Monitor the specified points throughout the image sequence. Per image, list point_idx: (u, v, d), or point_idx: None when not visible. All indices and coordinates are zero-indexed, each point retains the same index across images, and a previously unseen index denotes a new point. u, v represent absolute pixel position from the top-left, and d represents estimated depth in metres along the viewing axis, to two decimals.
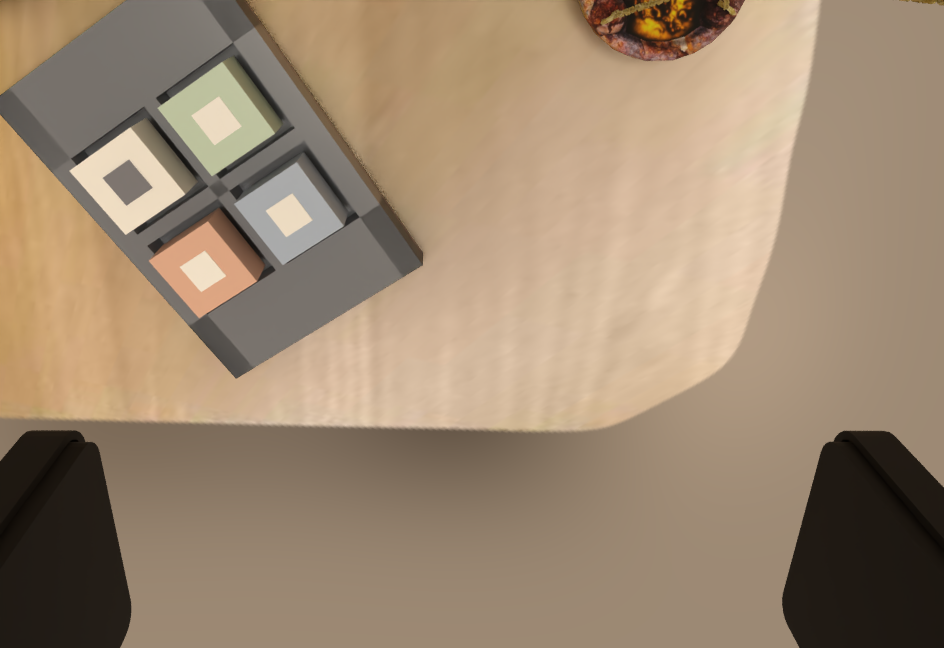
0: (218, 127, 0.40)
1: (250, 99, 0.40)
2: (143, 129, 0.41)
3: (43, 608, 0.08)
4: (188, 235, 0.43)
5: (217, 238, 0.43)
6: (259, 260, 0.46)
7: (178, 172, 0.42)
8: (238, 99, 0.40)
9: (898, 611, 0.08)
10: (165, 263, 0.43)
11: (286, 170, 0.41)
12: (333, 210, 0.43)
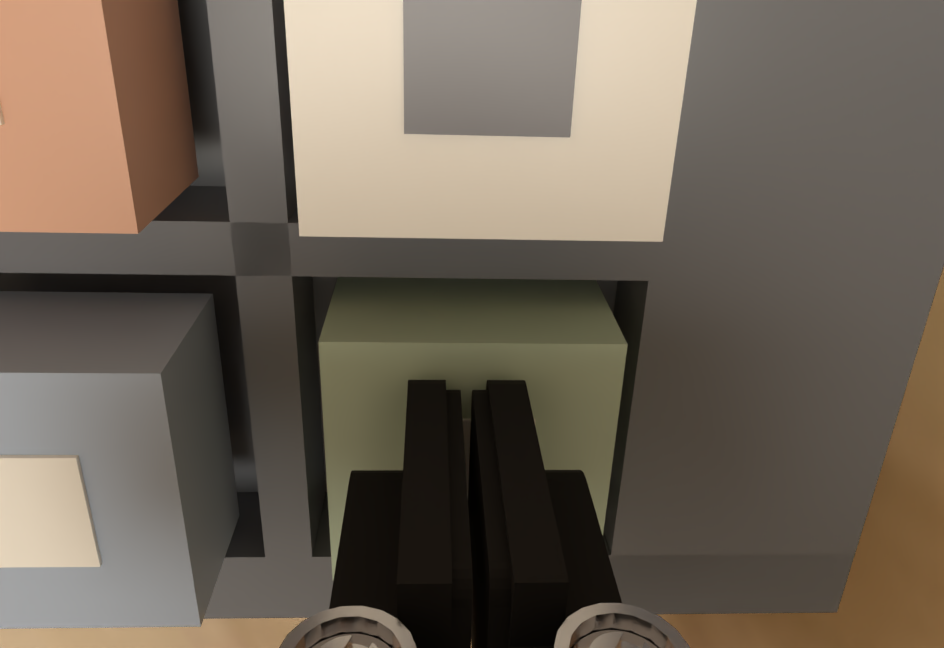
0: None
1: None
2: None
3: None
4: (113, 105, 0.08)
5: (42, 218, 0.09)
6: None
7: None
8: None
9: (478, 535, 0.09)
10: None
11: (190, 587, 0.11)
12: None
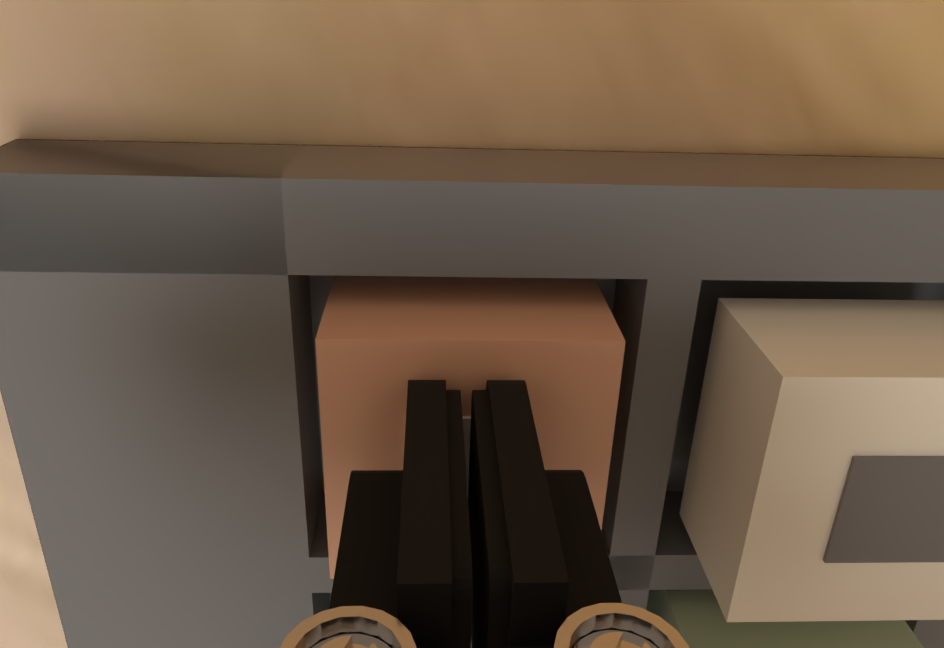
0: None
1: None
2: None
3: None
4: (600, 504, 0.12)
5: None
6: None
7: None
8: None
9: (478, 535, 0.09)
10: (576, 383, 0.11)
11: None
12: None
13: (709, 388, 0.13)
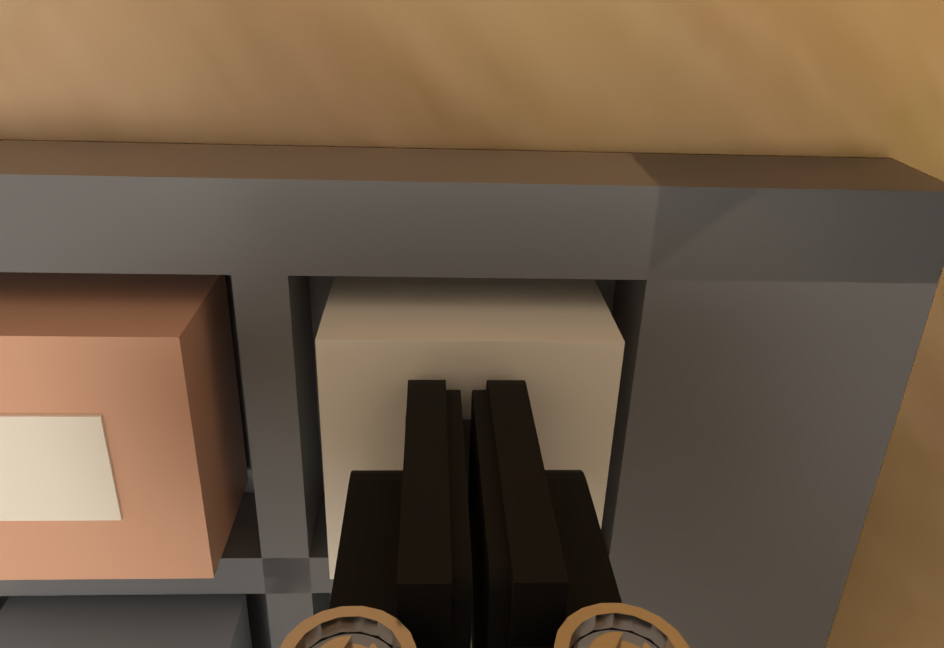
0: None
1: None
2: None
3: None
4: (200, 504, 0.12)
5: (145, 571, 0.12)
6: None
7: None
8: None
9: (478, 534, 0.09)
10: (139, 381, 0.11)
11: None
12: None
13: None
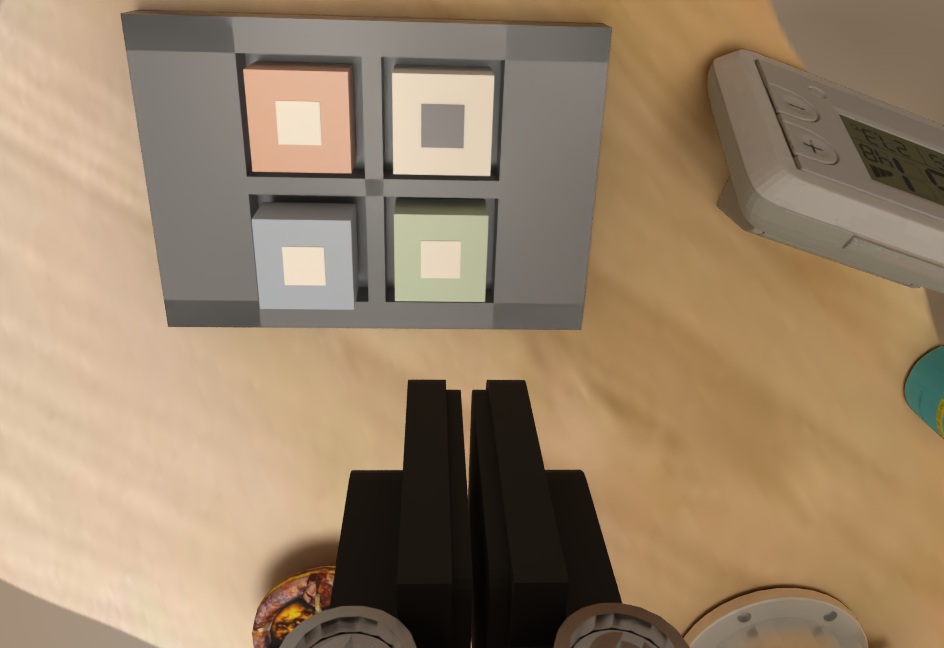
0: (433, 255, 0.36)
1: (438, 300, 0.37)
2: None
3: None
4: (348, 140, 0.33)
5: (327, 169, 0.34)
6: None
7: None
8: (445, 292, 0.36)
9: (478, 534, 0.09)
10: (333, 88, 0.32)
11: (352, 294, 0.35)
12: None
13: None
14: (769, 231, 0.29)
